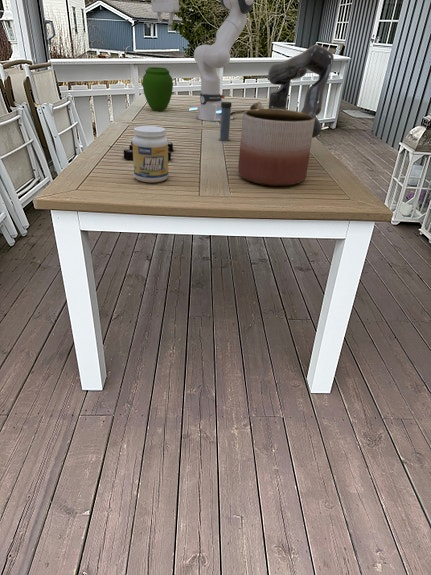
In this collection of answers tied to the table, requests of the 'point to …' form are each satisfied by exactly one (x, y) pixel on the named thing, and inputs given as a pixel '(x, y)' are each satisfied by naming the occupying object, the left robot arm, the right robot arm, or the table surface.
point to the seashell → (257, 106)
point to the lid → (226, 104)
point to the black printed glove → (129, 153)
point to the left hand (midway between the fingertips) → (165, 23)
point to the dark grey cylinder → (225, 124)
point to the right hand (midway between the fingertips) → (254, 112)
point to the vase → (157, 88)
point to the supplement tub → (150, 154)
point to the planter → (275, 146)
